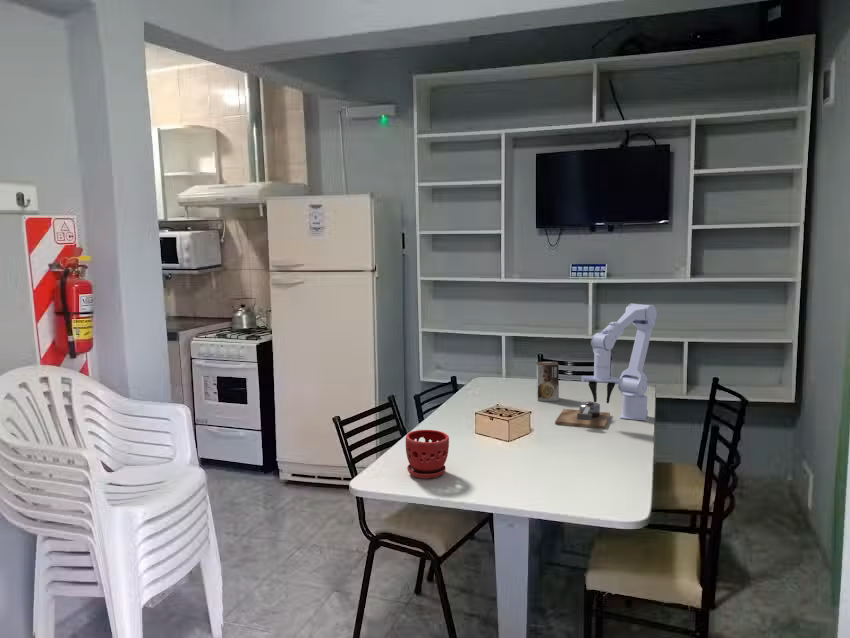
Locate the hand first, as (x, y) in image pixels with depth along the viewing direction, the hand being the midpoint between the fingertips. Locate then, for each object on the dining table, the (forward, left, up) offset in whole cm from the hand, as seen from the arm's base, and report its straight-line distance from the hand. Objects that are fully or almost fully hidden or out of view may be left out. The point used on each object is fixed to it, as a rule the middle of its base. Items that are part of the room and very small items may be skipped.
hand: (601, 402), depth 229 cm
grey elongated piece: (+5, -4, -8) cm, 10 cm away
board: (+8, -7, -9) cm, 14 cm away
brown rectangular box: (+26, -33, -10) cm, 43 cm away
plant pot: (+44, +63, -10) cm, 78 cm away
